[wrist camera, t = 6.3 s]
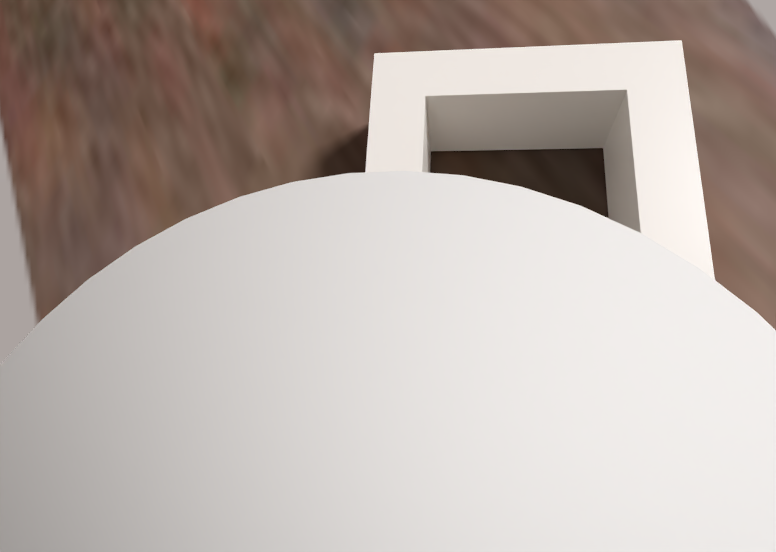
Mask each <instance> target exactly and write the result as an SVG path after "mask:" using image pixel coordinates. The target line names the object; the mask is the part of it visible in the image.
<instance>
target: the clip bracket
mask: <svg viewBox="0 0 776 552" xmlns="http://www.w3.org/2000/svg"><path fill="white" fill-rule="evenodd" d="M582 148H603V153H604V166H605V179H606V192H607V205H608V218H609V219H611V220H613V221H615V222H618V223H620V224H622V225H624V226H626V227H629V228H631V229H633V230H635V231H637V232H640V233H641V234H643V235H645V236H646V237H648V238H650V239H651V240H653V241H655V242H656V243H658V244H660V245H661V246H663V247H665V248H666V249H668V250H670V251H671V252H673V253H675V254H676V255H678V256H680V257H681V258H683V259H685V260H686V261H688V262H690V263H691V264H693V265H695V266H696V267H698V268H699V269H701V270H702V271H703V272H705V273H706V274H707V275H709V276H710V277H711V278H713V279H714V280H715V278H714V270H713V263H712V256H711V249H710V242H709V234H708V227H707V220H706V213H705V206H704V198H703V191H702V184H701V177H700V169H699V162H698V155H697V148H696V141H695V133H694V126H693V119H692V112H691V105H690V97H689V90H688V83H687V76H686V69H685V61H684V54H683V47H682V40H681V41H657V42H633V43H610V44H586V45H562V46H539V47H515V48H491V49H468V50H444V51H420V52H397V53H374V66H373V79H372V91H371V104H370V117H369V130H368V143H367V156H366V169H365V172H389V171H414V172H427V173H430V167H431V151H476V150H529V149H582Z"/></svg>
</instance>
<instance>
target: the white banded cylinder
mask: <svg viewBox="0 0 776 552" xmlns="http://www.w3.org/2000/svg"><path fill="white" fill-rule="evenodd" d="M0 552H776V330H775V329H774V328H772V327H771V326H770V325H769V324H768V323H767V322H766V321H765V320H764V319H763V318H762V317H761V316H760V315H759V314H758V313H757V312H756V311H754V310H753V309H752V308H750V307H749V306H748V305H746V304H745V303H744V302H743V301H741V300H740V299H739V298H737V297H736V296H735V295H733V294H732V293H731V292H730V291H728V290H727V289H726V288H724V287H723V286H722V285H720V284H719V283H718V282H716V281H715V280H714V279H713V278H711V277H710V276H709V275H707V274H706V273H705V272H703V271H702V270H701V269H699V268H698V267H696V266H695V265H693V264H691V263H690V262H688V261H686V260H685V259H683V258H681V257H680V256H678V255H676V254H675V253H673V252H671V251H670V250H668V249H666V248H665V247H663V246H661V245H660V244H658V243H656V242H655V241H653V240H651V239H650V238H648V237H646V236H645V235H643V234H641V233H640V232H637V231H635V230H633V229H631V228H629V227H626V226H624V225H622V224H620V223H618V222H615V221H613V220H611V219H609V218H607V217H604V216H602V215H600V214H598V213H596V212H593V211H591V210H589V209H587V208H585V207H582V206H580V205H577V204H574V203H571V202H567V201H564V200H561V199H558V198H555V197H552V196H549V195H546V194H543V193H539V192H536V191H533V190H530V189H527V188H524V187H520V186H515V185H510V184H505V183H500V182H495V181H490V180H485V179H480V178H474V177H469V176H464V175H453V174H440V173H427V172H414V171H389V172H364V173H346V174H340V175H334V176H327V177H321V178H315V179H309V180H302V181H296V182H291V183H287V184H284V185H280V186H277V187H273V188H270V189H266V190H263V191H259V192H256V193H252V194H248V195H245V196H241V197H238V198H236V199H233V200H231V201H228V202H226V203H223V204H221V205H218V206H216V207H214V208H211V209H209V210H206V211H204V212H201V213H199V214H197V215H194V216H192V217H189V218H187V219H185V220H183V221H181V222H179V223H177V224H176V225H174V226H172V227H170V228H168V229H166V230H165V231H163V232H161V233H159V234H157V235H156V236H154V237H152V238H150V239H148V240H146V241H145V242H143V243H141V244H139V245H137V246H135V247H134V248H133V249H131V250H130V251H128V252H127V253H125V254H124V255H123V256H121V257H120V258H118V259H117V260H115V261H114V262H113V263H111V264H110V265H108V266H107V267H105V268H104V269H103V270H101V271H100V272H98V273H97V274H95V275H94V276H93V277H91V278H90V279H88V280H87V281H86V282H85V283H83V284H82V285H81V286H80V287H79V288H78V289H77V290H75V291H74V292H73V293H72V294H71V295H70V296H69V297H67V298H66V299H65V300H64V301H63V302H62V303H61V304H59V305H58V306H57V307H56V308H55V309H54V310H52V311H51V312H50V313H49V314H48V315H47V316H46V317H44V318H43V319H42V320H41V321H40V322H39V323H38V324H37V325H36V327H35V328H34V329H33V330H32V331H31V332H30V333H29V334H28V335H27V336H26V337H25V338H24V339H23V340H22V342H21V343H20V344H19V345H18V346H17V347H16V348H15V349H14V350H13V351H12V352H11V353H10V355H9V356H8V357H7V358H6V359H5V360H4V361H3V362H2V363H1V364H0Z"/></svg>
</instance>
